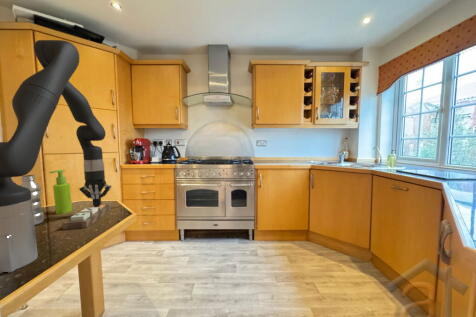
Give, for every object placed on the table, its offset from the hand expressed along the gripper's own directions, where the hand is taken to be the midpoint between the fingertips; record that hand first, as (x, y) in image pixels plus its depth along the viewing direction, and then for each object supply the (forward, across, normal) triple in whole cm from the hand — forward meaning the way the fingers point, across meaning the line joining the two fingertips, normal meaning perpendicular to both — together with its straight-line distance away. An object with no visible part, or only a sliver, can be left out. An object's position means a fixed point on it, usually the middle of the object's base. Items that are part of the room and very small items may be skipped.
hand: (97, 206), depth 94 cm
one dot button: (+4, 0, 0) cm, 4 cm away
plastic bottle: (+3, -19, -10) cm, 22 cm away
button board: (+3, 0, -7) cm, 7 cm away
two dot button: (+3, 0, -13) cm, 13 cm away
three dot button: (+3, 0, -7) cm, 7 cm away
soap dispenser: (+3, -17, +4) cm, 18 cm away
